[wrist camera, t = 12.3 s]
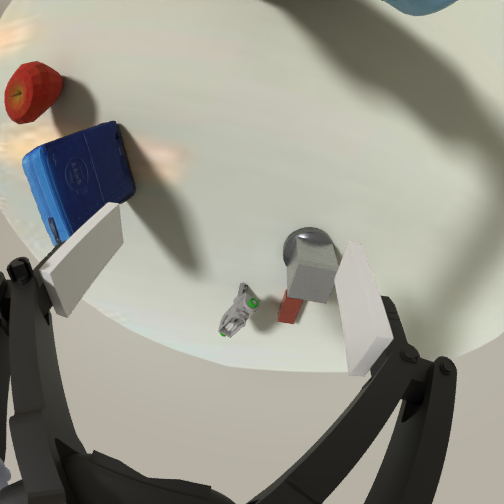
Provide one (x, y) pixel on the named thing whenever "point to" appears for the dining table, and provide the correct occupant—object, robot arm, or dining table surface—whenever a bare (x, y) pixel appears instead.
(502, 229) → the dining table surface
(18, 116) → the apple
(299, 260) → the gray rectangular block
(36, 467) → the robot arm
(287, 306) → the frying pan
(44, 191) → the blue box
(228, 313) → the mechanical component
